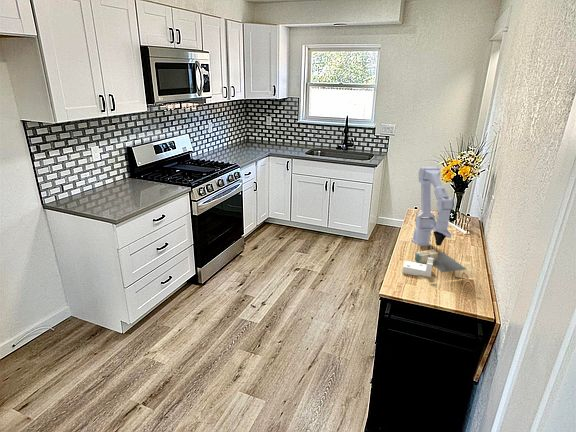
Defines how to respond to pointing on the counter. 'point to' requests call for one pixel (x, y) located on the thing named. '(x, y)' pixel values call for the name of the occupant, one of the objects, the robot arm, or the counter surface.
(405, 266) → the bracket
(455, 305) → the counter surface
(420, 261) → the tall block
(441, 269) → the mat
